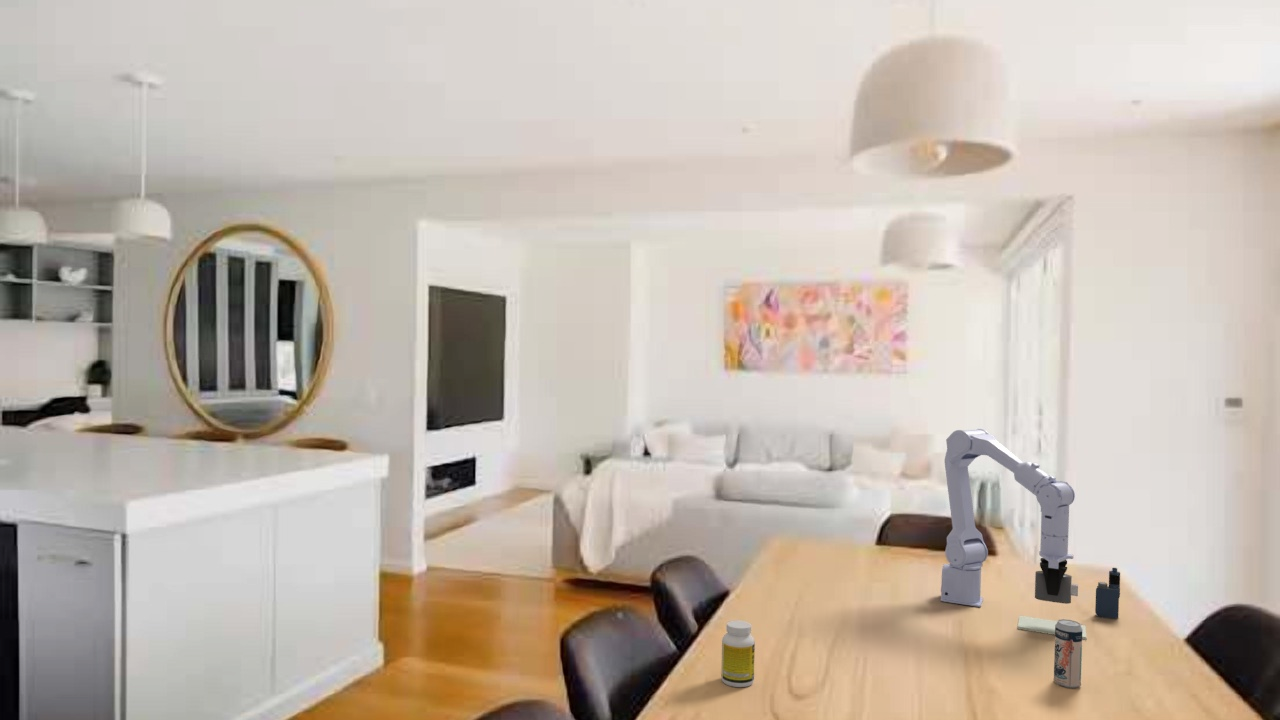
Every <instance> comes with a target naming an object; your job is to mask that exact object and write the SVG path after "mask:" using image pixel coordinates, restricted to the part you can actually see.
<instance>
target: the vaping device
mask: <svg viewBox="0 0 1280 720" xmlns="http://www.w3.org/2000/svg"><path fill="white" fill-rule="evenodd" d="M1111 568H1112V569H1111V570H1109V572H1108V583H1107V582H1105V581H1099V582H1097V586H1096V588H1095V608H1094V609H1095V610H1094V611H1095V614H1096V615H1095V616H1096V617H1098V618H1102V617H1103V618H1102V619H1119V612H1120V611H1119V610H1120V609H1119V608H1120V607H1119V605H1120V602H1119V601H1120V597H1121V572H1120V571H1118V568H1117V567H1111Z"/></svg>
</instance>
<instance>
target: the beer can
mask: <svg viewBox="0 0 1280 720" xmlns="http://www.w3.org/2000/svg"><path fill="white" fill-rule="evenodd" d="M1057 621H1058V622H1057V623H1056V625H1055V635H1054V660H1053V661H1054V663H1053V682H1055V683H1056V684H1057V683H1058V684H1059V686H1061V687H1063V688H1066V689H1076V688H1079V687H1081V686H1082V658H1083V656H1082V654H1083V653H1082V652H1083V639H1082V631H1083V629H1082V627H1081V625H1082V624H1081V623H1080V622H1078V621H1075V620H1071V619H1064V618H1063V619H1062V618H1061V619H1058V620H1057ZM1058 684H1057V685H1058Z"/></svg>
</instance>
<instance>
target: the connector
mask: <svg viewBox="0 0 1280 720" xmlns="http://www.w3.org/2000/svg"><path fill="white" fill-rule="evenodd" d="M1034 577H1035V578H1034V579H1035V580H1034V598H1035V599H1037V600H1040V601H1045V602H1051V603H1056V604H1057V603H1058V604H1065V605H1067V604H1072V596H1074V597H1078V595H1079V585H1078V584H1075V583H1072V581H1073V580H1072V578H1073V576H1072V575H1070V574H1067V573H1065V574H1064V575H1063V578H1062V581H1061V585H1060V589H1059V593H1058V596H1055V595H1048V593H1047V589H1046V583H1045V577H1044V574H1043V571H1042V570H1036V571H1035V576H1034Z"/></svg>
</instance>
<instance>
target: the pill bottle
mask: <svg viewBox="0 0 1280 720" xmlns="http://www.w3.org/2000/svg"><path fill="white" fill-rule="evenodd" d="M725 630H726V633H725V634H724V635H723V636H722V638H721V639H722V640H721V672H720V674H721V681H722V683H724V684H725V685H726V686H729V687H733V688H745V687H746V688H748V687H750V686H751V685H753V684H754V682H755V681H754V680H755V653H756V651H755V649H756V648H755V645H756V644H755V643H756V642H755V641H756V640H755V638H754V637H753V636H752V634H751V633H752V624H751V623H750V622H747V621H745V620H739V619H738V620H729V621H728V622H727V623H726V628H725Z"/></svg>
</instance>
